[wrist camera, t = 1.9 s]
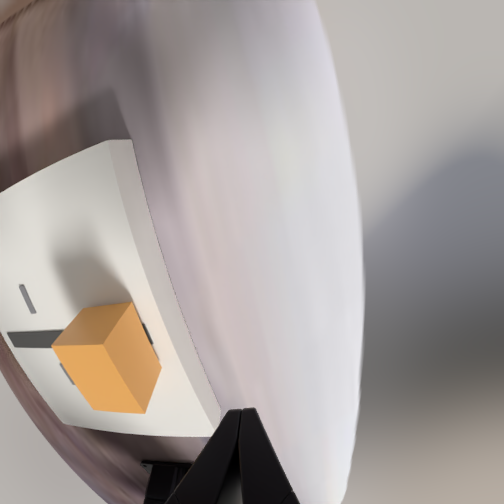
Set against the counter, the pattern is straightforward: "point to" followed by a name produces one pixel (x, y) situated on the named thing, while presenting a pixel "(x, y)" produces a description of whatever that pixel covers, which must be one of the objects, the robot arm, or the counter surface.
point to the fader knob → (109, 358)
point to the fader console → (95, 287)
